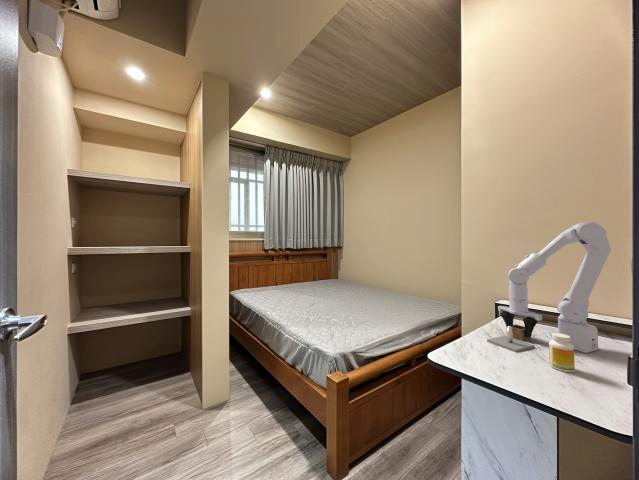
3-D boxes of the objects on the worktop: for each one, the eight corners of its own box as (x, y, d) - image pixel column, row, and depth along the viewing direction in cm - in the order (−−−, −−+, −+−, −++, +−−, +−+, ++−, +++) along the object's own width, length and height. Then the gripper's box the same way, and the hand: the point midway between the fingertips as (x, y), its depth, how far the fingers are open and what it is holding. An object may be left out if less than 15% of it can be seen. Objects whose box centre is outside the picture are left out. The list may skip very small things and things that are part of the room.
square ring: (531, 338, 97) (530, 328, 97) (522, 341, 95) (521, 330, 95) (516, 334, 101) (516, 324, 101) (507, 336, 100) (507, 326, 100)
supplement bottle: (580, 373, 71) (579, 339, 71) (557, 372, 72) (557, 338, 72) (565, 364, 77) (564, 332, 77) (545, 363, 78) (544, 331, 78)
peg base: (534, 347, 89) (534, 328, 89) (515, 352, 85) (515, 332, 85) (505, 337, 98) (504, 320, 98) (487, 341, 95) (486, 323, 95)
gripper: (492, 296, 104) (493, 329, 103) (533, 304, 90) (533, 342, 90) (504, 294, 106) (505, 327, 106) (545, 302, 92) (546, 339, 92)
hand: (519, 333), depth 98 cm, fingers open, 6 cm apart
